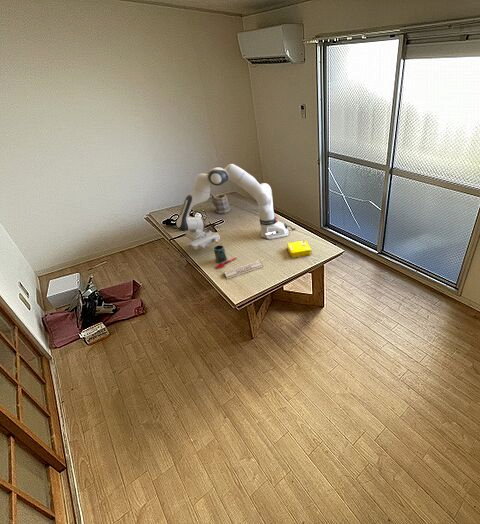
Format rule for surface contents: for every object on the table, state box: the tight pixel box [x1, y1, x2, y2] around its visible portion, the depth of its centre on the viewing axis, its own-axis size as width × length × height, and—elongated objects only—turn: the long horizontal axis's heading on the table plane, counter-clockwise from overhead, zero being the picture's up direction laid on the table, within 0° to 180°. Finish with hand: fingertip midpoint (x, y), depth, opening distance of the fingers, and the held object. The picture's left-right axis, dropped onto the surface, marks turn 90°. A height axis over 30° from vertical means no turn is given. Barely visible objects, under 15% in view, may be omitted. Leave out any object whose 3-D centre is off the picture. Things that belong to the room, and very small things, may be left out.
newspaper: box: [223, 260, 263, 280], centre depth 184 cm, size 24×7×2 cm, turn 124°
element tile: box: [286, 239, 312, 259], centre depth 203 cm, size 15×15×5 cm
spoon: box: [215, 257, 237, 269], centre depth 191 cm, size 15×4×1 cm, turn 141°
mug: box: [212, 244, 228, 264], centre depth 191 cm, size 10×7×10 cm
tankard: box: [210, 192, 231, 214], centre depth 260 cm, size 20×13×15 cm, turn 58°
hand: (211, 244), depth 196 cm, fingers open, 8 cm apart
